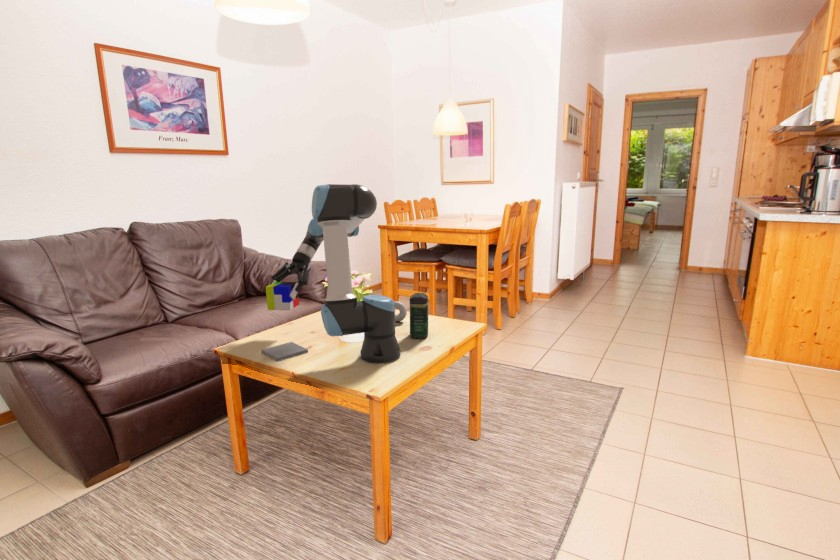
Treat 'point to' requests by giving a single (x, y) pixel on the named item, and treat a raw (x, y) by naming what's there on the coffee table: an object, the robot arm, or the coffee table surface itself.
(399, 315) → the donut
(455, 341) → the coffee table surface
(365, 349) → the robot arm
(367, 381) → the coffee table surface
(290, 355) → the slate board
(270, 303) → the puzzle toy
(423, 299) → the coffee jar
